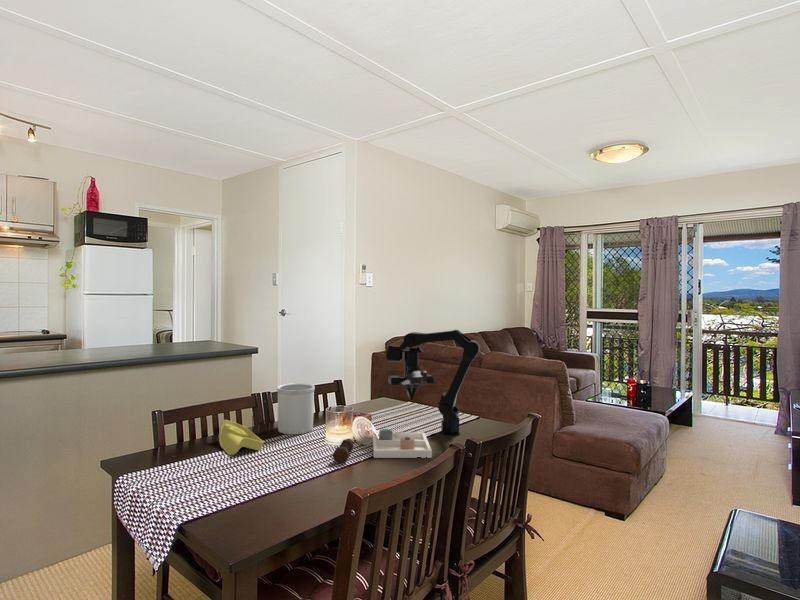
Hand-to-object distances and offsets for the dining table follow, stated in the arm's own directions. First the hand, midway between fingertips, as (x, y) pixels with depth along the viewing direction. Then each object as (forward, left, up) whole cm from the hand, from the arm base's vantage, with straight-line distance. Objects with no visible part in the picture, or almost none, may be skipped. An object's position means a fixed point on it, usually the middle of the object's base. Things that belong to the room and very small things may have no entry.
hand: (410, 400), depth 194 cm
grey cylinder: (+11, +19, -11) cm, 25 cm away
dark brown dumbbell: (+26, +31, -12) cm, 42 cm away
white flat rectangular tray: (+6, +19, -12) cm, 23 cm away
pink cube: (+4, +28, -11) cm, 31 cm away
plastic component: (+64, +22, -12) cm, 69 cm away
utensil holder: (+47, +3, -12) cm, 48 cm away
